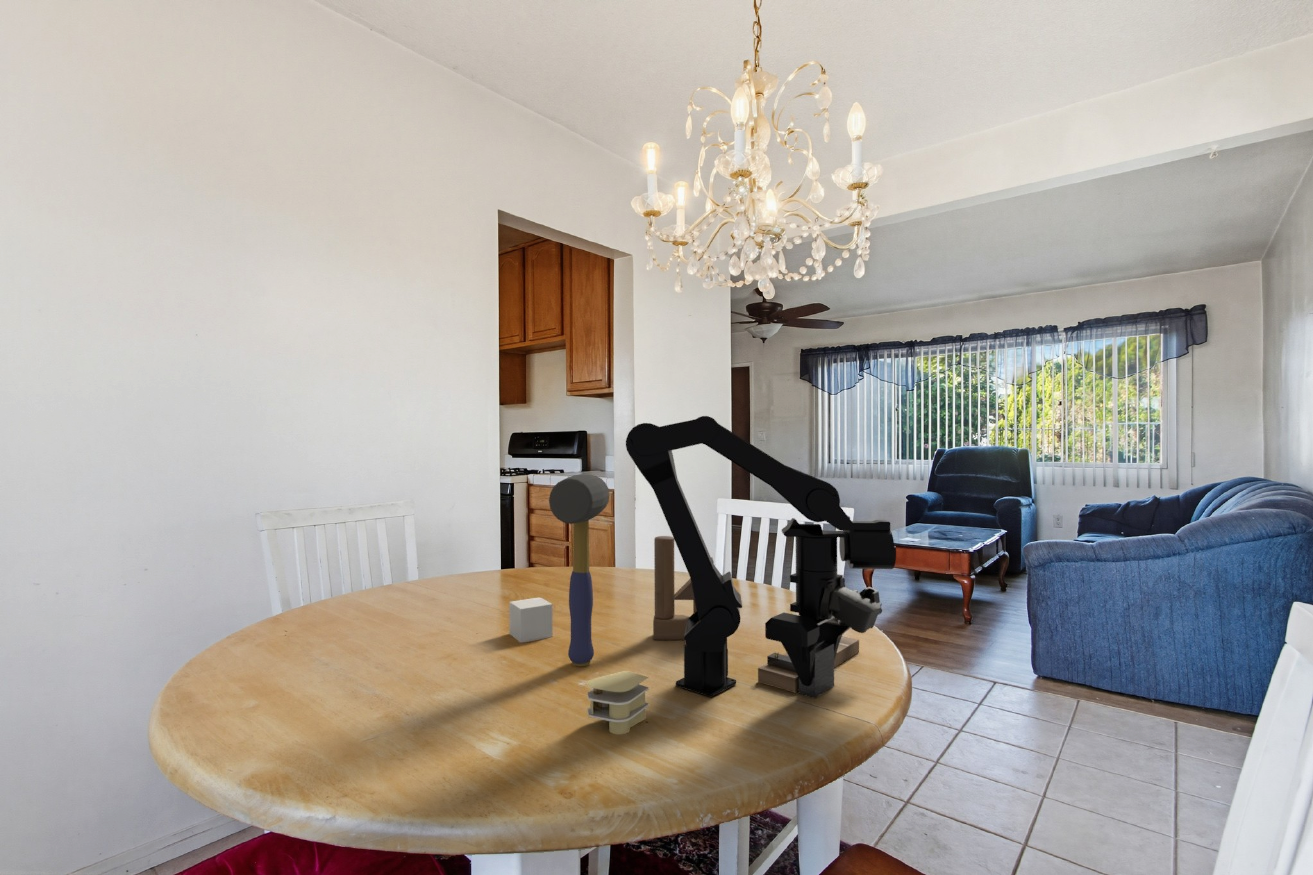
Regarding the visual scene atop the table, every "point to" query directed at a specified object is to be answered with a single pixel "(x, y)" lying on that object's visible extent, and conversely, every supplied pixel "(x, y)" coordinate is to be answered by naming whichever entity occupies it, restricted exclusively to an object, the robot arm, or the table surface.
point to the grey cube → (530, 619)
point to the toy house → (618, 700)
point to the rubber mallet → (580, 553)
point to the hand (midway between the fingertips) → (816, 678)
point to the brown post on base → (668, 593)
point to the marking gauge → (821, 669)
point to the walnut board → (790, 678)
